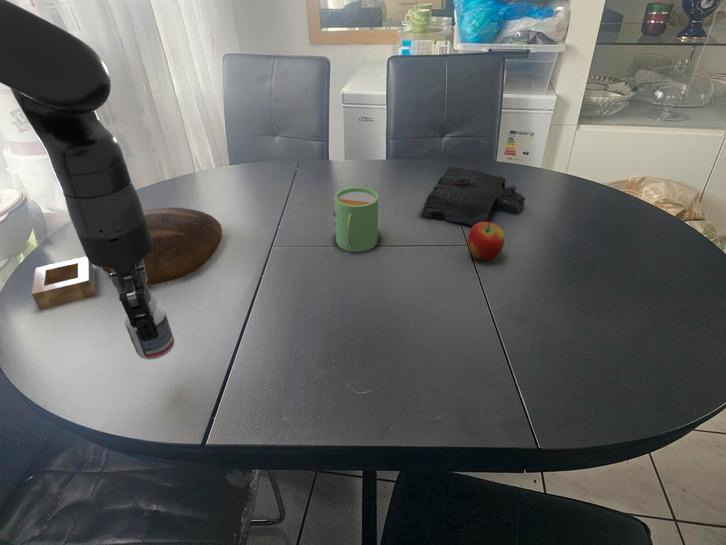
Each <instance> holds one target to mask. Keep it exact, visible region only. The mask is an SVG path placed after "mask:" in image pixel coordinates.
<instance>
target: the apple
mask: <svg viewBox="0 0 726 545" xmlns="http://www.w3.org/2000/svg"><path fill="white" fill-rule="evenodd" d="M505 235H506V234H505V232H504V230H503V229H502V227H500V226H499V225H498V224H496V223H494V222H492V221H491V220H490V221H484V222H480V223H477V224H475V225H474V226H471V228H470V229H469V231H468V235H467V246H468V250H469V251H470V254H471V256H473V257H474V258H476V259H478V260H482V261H489V260H493V259H494V258H496V257H497V256H498V255H499V254H500V253H501V252H502V250H503V248H504V245H505V241H506V236H505Z"/></svg>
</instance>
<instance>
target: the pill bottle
mask: <svg viewBox="0 0 726 545" xmlns="http://www.w3.org/2000/svg"><path fill="white" fill-rule="evenodd" d="M144 294H145V292H144ZM150 294H151V300H150V301H149V305H150V308H151V311H153V314H154V315H153V317H154V322H155V325H156V328H157V331H158V335H159V336H158V337H157V338H156V339H152V340H149V341H145V342H144V341H142V340H141V338H140V335H139V333H138V330H137V328H136V327H135V328H133V327H132V326H131V325H130V320H129V318H128V316H127V314H126V311H125V309H124V308H123V310H124V313H125V316H124V319H123V322H124V325H125V328H126V331H127V334H128V336H129V338H130V341H131V343H132V345H133V347H134V351H135V352H136V355H137V356H138V357H139V358H141V359H142V360H143V359H144V360H157V359H160V358H162V357H164V356H166V355H168V354H169V353H170V352H171V351H172V350H173V349H174V346H175V338H174V334H173V331H172V329H171V325H170V323H169V320H168V316H167V314H166V310H165V309H164V307H163V306H161V305H160V304H158V302H157V300H156V297H155V295H154V294H153V293H151V292H150Z"/></svg>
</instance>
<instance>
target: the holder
mask: <svg viewBox="0 0 726 545" xmlns="http://www.w3.org/2000/svg"><path fill="white" fill-rule="evenodd" d="M33 276H34V277H33V282H32V289H31V297H32V298H33V300H34V302H35V304H36V305H37V308H38V309H39V310H45V309H49V308H53V307H57V306H61V305H64V304H68V303H72V302H76V301H80V300H83V299H84V300H85V299H88V298H92V297H96V294H97V293H96V270H95V268H94V265H93V264H92V263H90V262H89V260H88V259H87V256H86V255H85V256H83V257H78V258H73V259H70V260H64V261H60V262H56V263H51V264H47V265H42V266H39V267H35V268H34V275H33Z"/></svg>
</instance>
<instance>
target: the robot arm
mask: <svg viewBox="0 0 726 545" xmlns="http://www.w3.org/2000/svg"><path fill="white" fill-rule="evenodd" d="M111 82H112V81H111V75H110V72H109V70H108V68H107V65H106V64H105V61H103V59H102V58H101V56H100V55H99V54H98V53H97V52H96V51H95V50H94V48H92V47H91V46H90V45H88V44H87V43H86V42H84V41H83V40H81V39H80V38H79V37H77V36H75V35H73V34H72V33H70V32H69V31H66V30H64V29H63V28H61V27H59V26H57V25H56V24H53V23H52V22H50V21H48V20H46V19H44V18H42V17H41V16H38V15H37V14H35V13H32V12H31V11H29V10H26V9H25V8H23V7H21V6H19V5H17V4H15V3H13V2H11V1H9V0H0V84H2V85H4V86H6V87H8V88H9V89H10V91H11V93H12V95H13V97H14V99H15V101H16V102H17V104H18V106H19V108H20V110H21V111H22V113H23V115H24V116H25V118H26V121H27V122H28V124H29V125H30V127H31V129H32V131H33V132H34V133H35V135H36V136H37V138H38V139H39V141H40V143H41V144H42V146H43V148H44V149H45V151H46V153H47V156H48V159H49V163H50V166H51V168H52V171H53V173H54V175H55V178H56V180H57V183H58V185H59V187H60V190H61V192H62V195H63V198H64V202H65V207H66V210H67V213H68V216H69V218H70V221H71V223H72V226H73V228H74V231H75V233H76V235H77V237H78V240H79V242H80V245H81V247H82V249H83V252H84V254H85V257H86V256H87V259H88V260H89V262H90V263H92V266H95V267H97V268H98V267H99V268H102V269H103V268H110V269H111V272H112V274H109V275H110V279H111V282H112V286H113V287H114V288H116V291H117V293H118V296H119V297H118V300H119V302H120V303H121V305H122V307H123V310H124V309H125V310H124V312H125V311H126V313H125V315H126V314H127V316H128V318H129V320H130V325H131V326H132V327H133V328H135V327H136V328H137V330H138V333H139V335H140V338H141V340H142V341H144V342H145V341H149V340H152V339H156V338H157V337H158V336H159V335H158V331H157V328H156V325H155V322H154V317H153V315H154V314H153V311H151V308H150V305H149V301H150V300H151V294H152V293H151V291H150V287H149V285H148V284H147V280H148V279H147V274H146V271H145V264H144V260H143V258H144V257H146V256H147V255H148V254H149V253H150V251H151V250H152V247H153V242H152V238H151V235H150V232H149V229H148V225H147V222H146V219H145V216H144V212H143V211H144V210H143V206H142V204H141V200H140V196H139V194H138V193H137V190H136V188H135V186H134V184H133V181H132V179H131V175H130V172H129V169H128V166H127V163H126V159H125V157H124V156H125V155H124V153H123V150H122V148H121V145H120V143H119V141H118V139H117V138H116V136H115V135H114V134H113V133H112V132H111V131H110V130H109V129H107V128H106V127H105V125H103V123H102V121H101V120H100V118H99V116H98V113H97V110H99V109H101V107H103V106H104V105H105V104H106V103H107V100H108V99H109V96H110V94H111V90H112V83H111ZM144 292H145V294H144ZM150 293H151V294H150Z"/></svg>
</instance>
